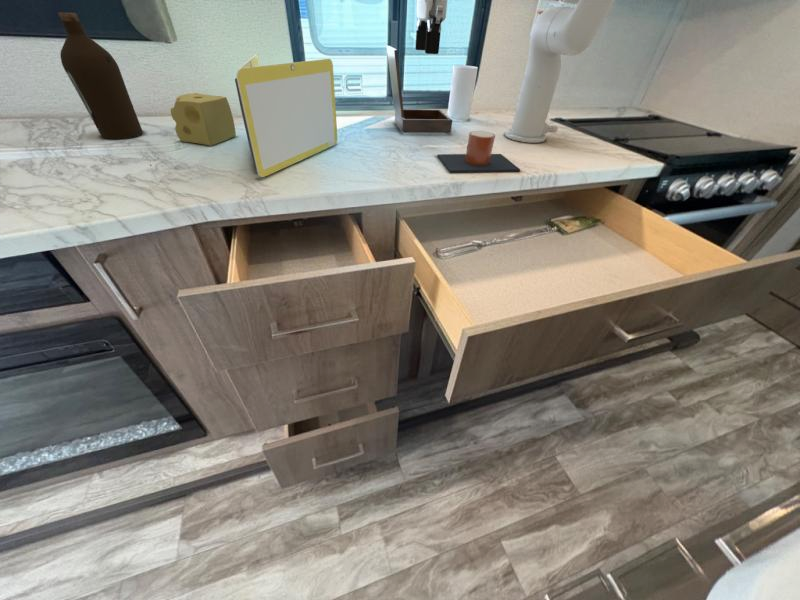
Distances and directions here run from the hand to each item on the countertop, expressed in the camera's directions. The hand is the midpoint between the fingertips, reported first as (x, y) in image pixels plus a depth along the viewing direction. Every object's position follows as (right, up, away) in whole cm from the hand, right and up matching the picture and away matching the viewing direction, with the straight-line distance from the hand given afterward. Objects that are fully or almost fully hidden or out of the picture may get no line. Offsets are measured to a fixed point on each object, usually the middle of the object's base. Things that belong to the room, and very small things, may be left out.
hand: (426, 51), depth 82 cm
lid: (-8, +4, +17) cm, 20 cm away
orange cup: (+13, -26, +3) cm, 29 cm away
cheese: (-58, -18, +9) cm, 62 cm away
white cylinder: (+15, +5, +41) cm, 44 cm away
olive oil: (-82, -17, +8) cm, 84 cm away
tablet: (-33, -24, +3) cm, 41 cm away
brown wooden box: (+1, -5, +27) cm, 28 cm away
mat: (+13, -26, +3) cm, 30 cm away
